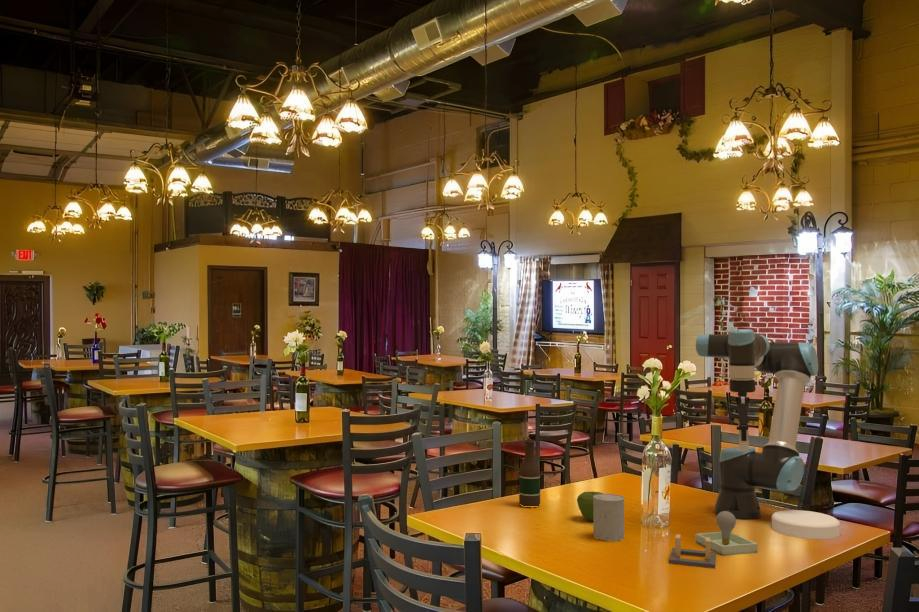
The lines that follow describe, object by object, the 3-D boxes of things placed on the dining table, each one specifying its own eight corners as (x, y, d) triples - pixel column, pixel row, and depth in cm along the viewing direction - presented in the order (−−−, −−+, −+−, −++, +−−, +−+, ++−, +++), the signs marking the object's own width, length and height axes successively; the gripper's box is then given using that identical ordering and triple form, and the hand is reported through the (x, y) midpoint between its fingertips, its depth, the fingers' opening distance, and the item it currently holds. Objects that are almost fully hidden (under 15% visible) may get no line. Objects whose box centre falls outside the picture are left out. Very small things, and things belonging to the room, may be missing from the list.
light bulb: (737, 548, 214) (737, 514, 214) (717, 547, 215) (717, 513, 215) (733, 542, 219) (734, 509, 219) (714, 541, 220) (715, 508, 220)
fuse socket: (668, 563, 201) (668, 541, 202) (672, 551, 213) (672, 530, 213) (715, 568, 197) (714, 545, 197) (716, 555, 208) (715, 534, 209)
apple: (613, 518, 249) (613, 489, 250) (604, 525, 240) (604, 495, 240) (582, 514, 254) (582, 485, 255) (572, 521, 245) (572, 491, 245)
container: (844, 543, 222) (844, 527, 223) (773, 536, 229) (773, 521, 229) (835, 526, 241) (835, 512, 241) (770, 521, 248) (769, 507, 248)
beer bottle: (517, 503, 270) (517, 438, 271) (537, 503, 271) (537, 438, 272) (521, 508, 263) (521, 441, 263) (542, 508, 263) (542, 441, 264)
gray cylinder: (601, 531, 233) (600, 492, 234) (629, 536, 228) (629, 496, 228) (587, 538, 226) (587, 497, 226) (617, 543, 220) (617, 502, 220)
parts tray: (695, 542, 222) (695, 533, 222) (729, 539, 225) (729, 531, 225) (722, 555, 209) (722, 546, 209) (757, 552, 211) (757, 543, 212)
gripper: (756, 383, 215) (758, 455, 214) (754, 375, 238) (755, 440, 238) (729, 382, 217) (730, 454, 217) (729, 375, 241) (731, 439, 240)
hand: (743, 447), depth 227 cm, fingers open, 13 cm apart
